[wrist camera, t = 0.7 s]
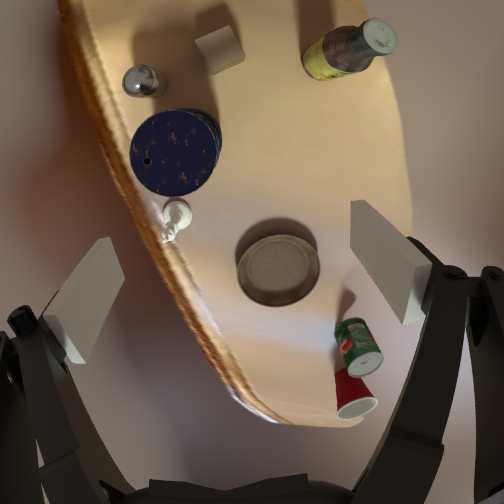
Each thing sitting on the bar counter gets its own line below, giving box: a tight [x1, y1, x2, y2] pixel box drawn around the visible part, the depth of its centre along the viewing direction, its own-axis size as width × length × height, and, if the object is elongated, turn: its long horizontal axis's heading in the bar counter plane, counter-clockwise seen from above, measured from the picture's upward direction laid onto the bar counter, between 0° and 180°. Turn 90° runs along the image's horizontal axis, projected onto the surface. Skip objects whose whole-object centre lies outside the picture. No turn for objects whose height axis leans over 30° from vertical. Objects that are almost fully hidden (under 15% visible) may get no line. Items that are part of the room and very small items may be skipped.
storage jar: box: [129, 109, 222, 197], centre depth 36 cm, size 10×10×15 cm
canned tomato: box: [334, 318, 384, 377], centre depth 58 cm, size 8×8×11 cm
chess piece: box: [162, 201, 192, 243], centre depth 43 cm, size 5×5×10 cm
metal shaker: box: [122, 65, 166, 98], centre depth 34 cm, size 5×5×9 cm
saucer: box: [237, 234, 321, 307], centre depth 53 cm, size 15×15×3 cm
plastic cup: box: [335, 368, 378, 420], centre depth 65 cm, size 11×11×12 cm
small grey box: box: [195, 25, 245, 75], centre depth 34 cm, size 5×5×6 cm
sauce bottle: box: [302, 18, 398, 81], centre depth 29 cm, size 7×6×20 cm
